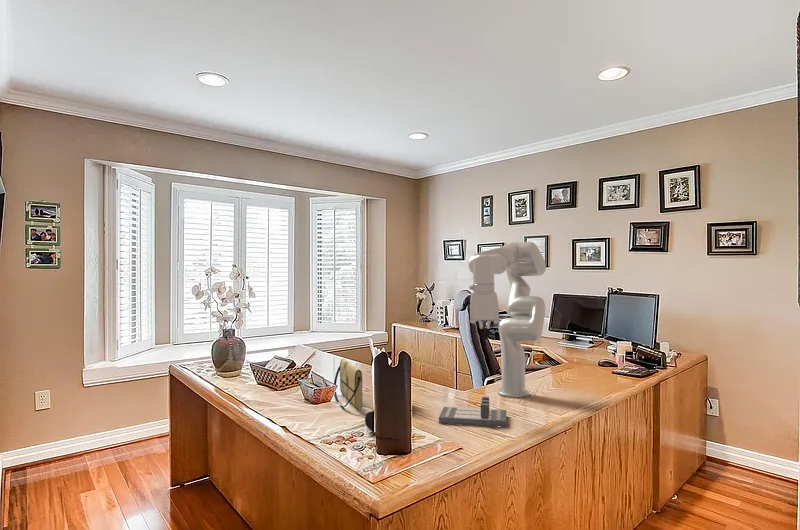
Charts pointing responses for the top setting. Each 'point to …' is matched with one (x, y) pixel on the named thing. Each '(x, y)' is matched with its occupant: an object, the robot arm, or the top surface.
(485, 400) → the handle
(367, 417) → the end cap
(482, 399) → the handle
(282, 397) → the top surface
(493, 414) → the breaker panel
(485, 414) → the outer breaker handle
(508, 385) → the robot arm
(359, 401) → the clutch purse
